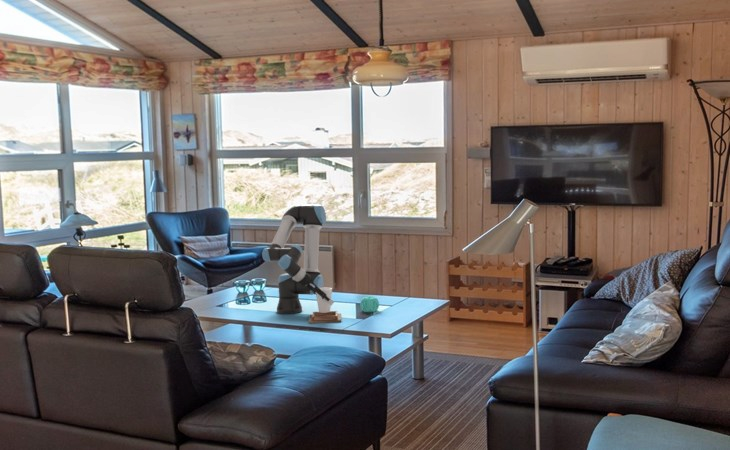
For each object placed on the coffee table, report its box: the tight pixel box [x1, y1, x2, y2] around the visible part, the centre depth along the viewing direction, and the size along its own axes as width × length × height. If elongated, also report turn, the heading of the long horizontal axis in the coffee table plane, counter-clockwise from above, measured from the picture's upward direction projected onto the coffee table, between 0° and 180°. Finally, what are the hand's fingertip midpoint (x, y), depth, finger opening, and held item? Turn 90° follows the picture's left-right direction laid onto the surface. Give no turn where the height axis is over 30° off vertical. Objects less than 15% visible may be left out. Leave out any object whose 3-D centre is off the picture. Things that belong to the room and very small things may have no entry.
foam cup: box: [315, 286, 333, 313], centre depth 421 cm, size 10×9×13 cm
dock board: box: [308, 310, 342, 325], centre depth 422 cm, size 18×18×3 cm
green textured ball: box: [360, 296, 380, 313], centre depth 442 cm, size 8×8×8 cm
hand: (329, 302), depth 422 cm, fingers closed on foam cup, 9 cm apart
